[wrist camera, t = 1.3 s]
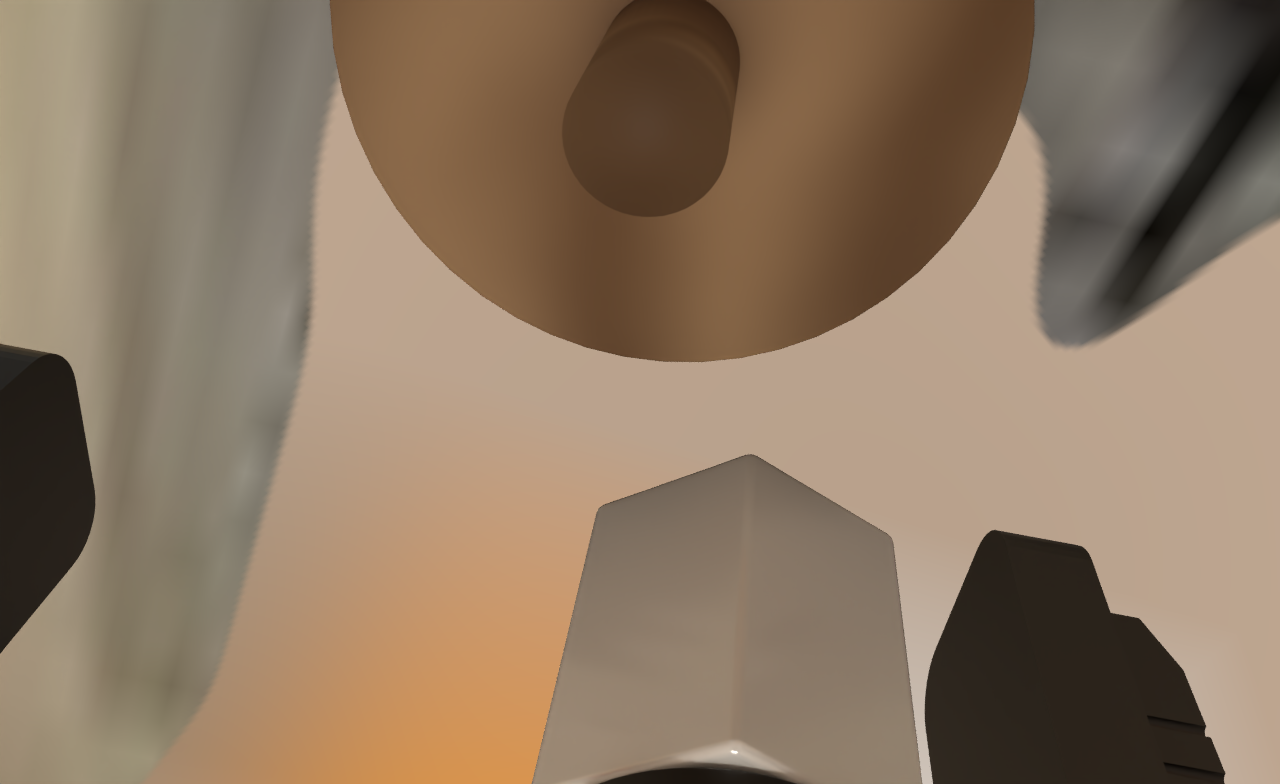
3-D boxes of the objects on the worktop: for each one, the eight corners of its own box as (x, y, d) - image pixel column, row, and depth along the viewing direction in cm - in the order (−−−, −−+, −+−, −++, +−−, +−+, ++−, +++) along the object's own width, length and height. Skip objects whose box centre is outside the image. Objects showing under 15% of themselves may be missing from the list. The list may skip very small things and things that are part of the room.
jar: (862, 708, 32) (895, 1166, 22) (591, 676, 33) (502, 1108, 23) (915, 465, 27) (988, 910, 17) (594, 434, 28) (484, 846, 18)
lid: (1136, -287, 19) (1253, -282, 14) (912, 383, 26) (939, 533, 22) (347, -419, 19) (200, -458, 14) (352, 281, 27) (256, 407, 22)
